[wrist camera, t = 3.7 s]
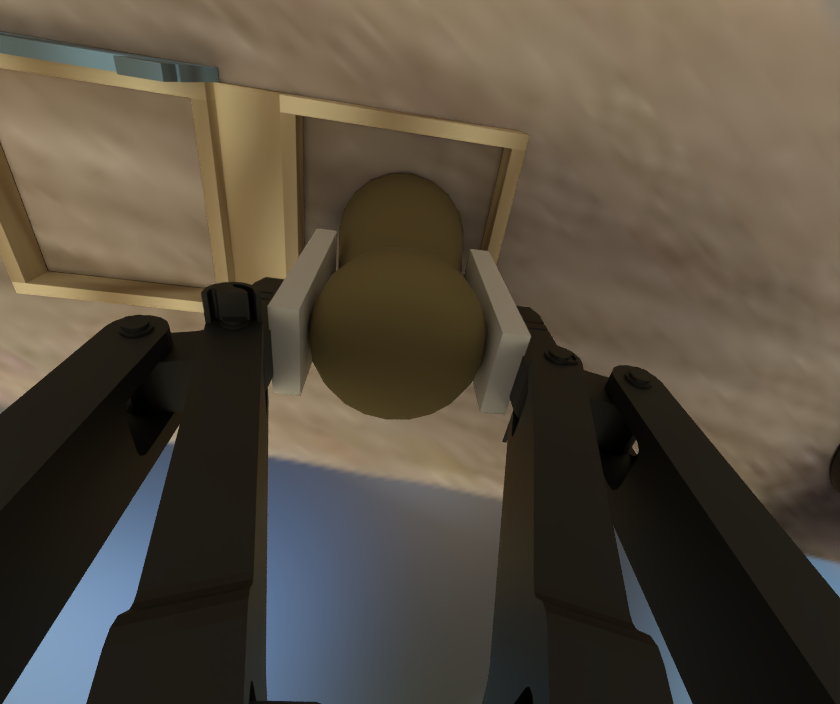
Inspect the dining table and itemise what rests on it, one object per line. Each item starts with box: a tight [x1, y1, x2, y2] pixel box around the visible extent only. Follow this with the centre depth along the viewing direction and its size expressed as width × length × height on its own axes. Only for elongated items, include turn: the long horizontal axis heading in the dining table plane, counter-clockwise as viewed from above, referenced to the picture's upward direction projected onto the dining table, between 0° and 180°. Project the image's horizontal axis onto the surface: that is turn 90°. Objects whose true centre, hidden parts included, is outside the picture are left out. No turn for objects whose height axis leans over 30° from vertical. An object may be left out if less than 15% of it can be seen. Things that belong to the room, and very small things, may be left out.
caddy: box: [0, 31, 530, 313], centre depth 18 cm, size 23×11×4 cm, turn 82°
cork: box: [309, 174, 487, 419], centre depth 15 cm, size 6×6×11 cm
